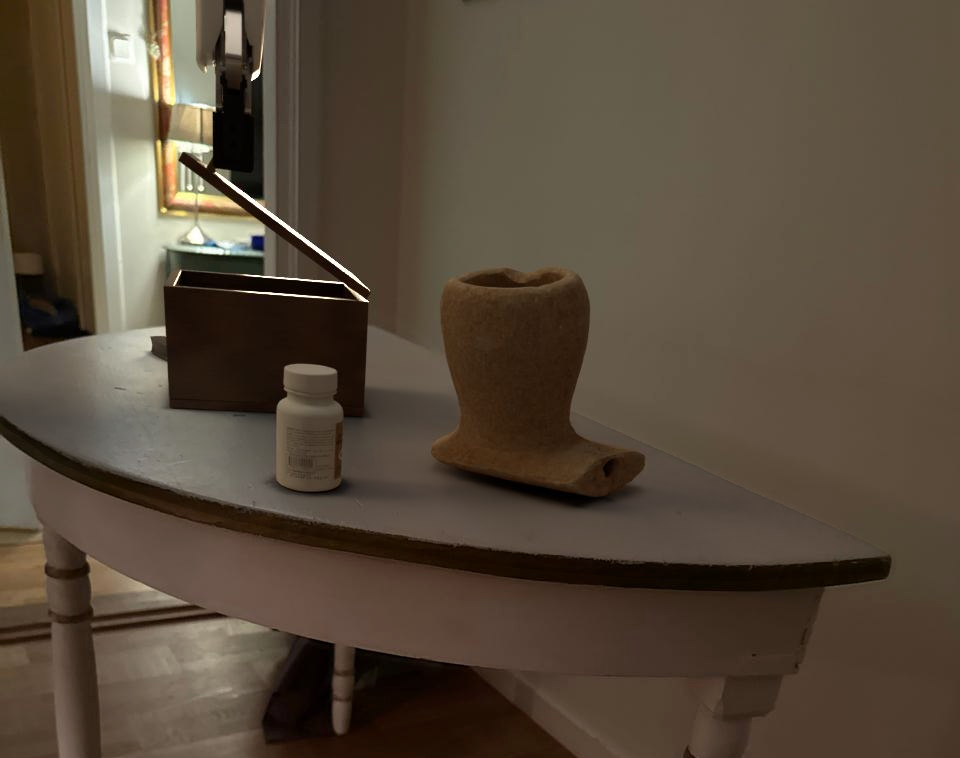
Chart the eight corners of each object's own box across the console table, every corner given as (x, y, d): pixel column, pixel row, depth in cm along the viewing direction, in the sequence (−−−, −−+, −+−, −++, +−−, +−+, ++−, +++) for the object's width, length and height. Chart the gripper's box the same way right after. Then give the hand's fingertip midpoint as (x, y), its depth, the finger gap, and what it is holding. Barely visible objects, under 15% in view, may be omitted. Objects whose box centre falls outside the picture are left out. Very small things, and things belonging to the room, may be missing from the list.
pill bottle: (352, 489, 62) (357, 374, 59) (293, 496, 60) (294, 376, 56) (323, 471, 65) (326, 361, 62) (265, 476, 63) (265, 362, 60)
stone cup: (394, 473, 67) (407, 253, 60) (475, 446, 76) (494, 253, 70) (580, 524, 61) (617, 285, 54) (644, 487, 70) (682, 280, 63)
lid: (177, 160, 69) (211, 100, 68) (185, 160, 81) (214, 109, 80) (366, 300, 77) (399, 248, 76) (348, 282, 89) (377, 237, 88)
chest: (169, 407, 77) (163, 285, 73) (177, 375, 89) (172, 268, 85) (363, 416, 82) (368, 301, 77) (347, 384, 93) (351, 283, 89)
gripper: (186, -83, 75) (190, 164, 83) (175, -143, 60) (181, 164, 68) (279, -64, 77) (274, 175, 85) (290, -118, 62) (283, 177, 70)
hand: (233, 167), depth 76 cm, fingers closed on lid, 5 cm apart
